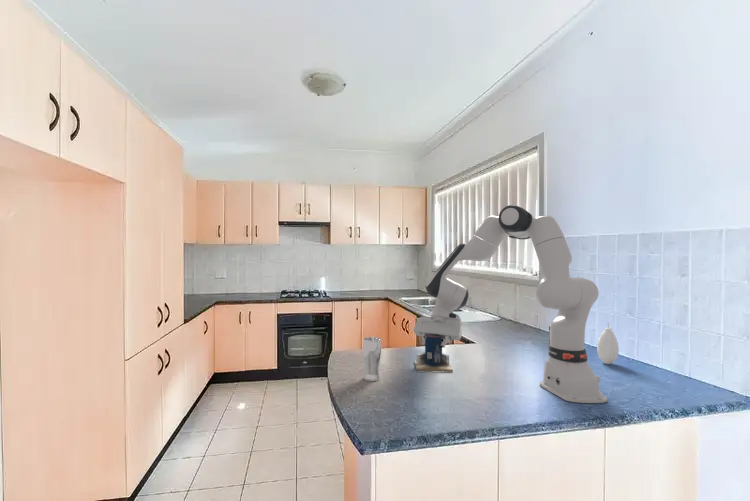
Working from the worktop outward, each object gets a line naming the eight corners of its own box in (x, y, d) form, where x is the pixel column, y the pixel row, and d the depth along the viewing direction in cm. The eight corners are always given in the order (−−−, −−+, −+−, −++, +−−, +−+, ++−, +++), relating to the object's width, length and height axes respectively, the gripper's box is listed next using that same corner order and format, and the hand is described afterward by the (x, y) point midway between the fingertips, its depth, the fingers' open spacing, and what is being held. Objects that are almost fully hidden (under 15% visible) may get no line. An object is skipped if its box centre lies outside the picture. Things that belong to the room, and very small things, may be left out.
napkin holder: (452, 372, 154) (452, 359, 154) (417, 371, 154) (417, 359, 154) (447, 362, 167) (447, 351, 167) (414, 362, 167) (414, 350, 167)
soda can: (430, 361, 164) (430, 333, 164) (445, 364, 160) (445, 335, 160) (421, 365, 158) (421, 335, 159) (436, 368, 154) (436, 337, 155)
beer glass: (358, 379, 143) (359, 339, 143) (367, 374, 149) (368, 335, 149) (375, 383, 140) (376, 341, 140) (384, 377, 146) (384, 337, 146)
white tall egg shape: (593, 362, 170) (593, 321, 170) (604, 360, 173) (605, 320, 173) (610, 367, 163) (611, 324, 163) (622, 365, 166) (622, 323, 166)
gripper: (417, 311, 170) (407, 338, 162) (462, 315, 161) (455, 344, 152) (420, 320, 174) (411, 346, 166) (465, 324, 164) (458, 353, 156)
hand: (433, 345), depth 159 cm, fingers closed on soda can, 7 cm apart
